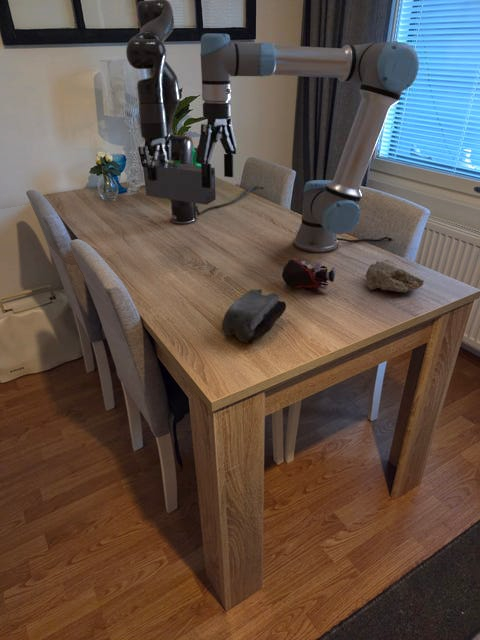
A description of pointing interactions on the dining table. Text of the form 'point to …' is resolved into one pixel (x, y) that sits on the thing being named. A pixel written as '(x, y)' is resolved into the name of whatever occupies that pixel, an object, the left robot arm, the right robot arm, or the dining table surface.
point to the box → (179, 183)
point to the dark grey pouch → (252, 315)
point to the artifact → (391, 277)
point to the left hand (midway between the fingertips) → (158, 178)
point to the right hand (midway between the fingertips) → (218, 182)
